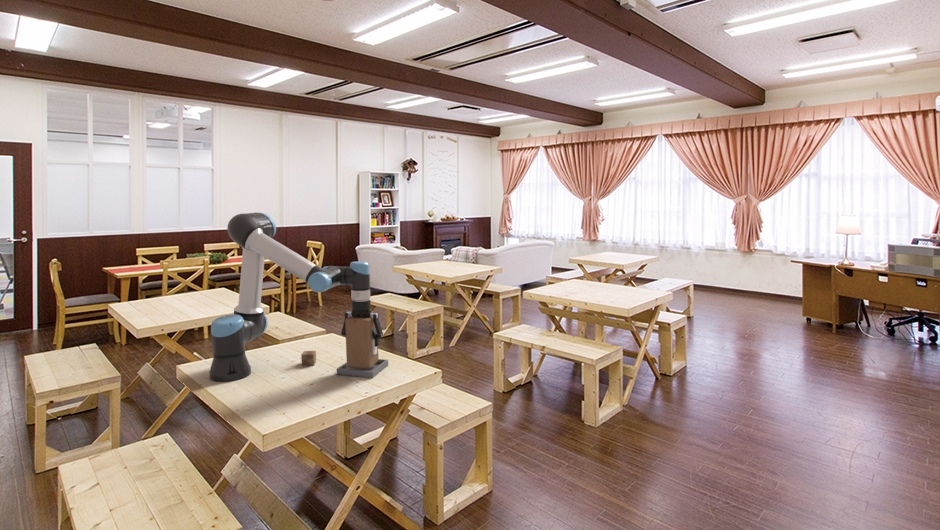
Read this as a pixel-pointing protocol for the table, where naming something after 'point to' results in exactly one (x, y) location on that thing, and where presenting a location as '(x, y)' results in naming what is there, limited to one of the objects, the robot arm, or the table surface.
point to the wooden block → (360, 342)
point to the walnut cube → (308, 358)
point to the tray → (363, 370)
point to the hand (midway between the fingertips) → (362, 353)
